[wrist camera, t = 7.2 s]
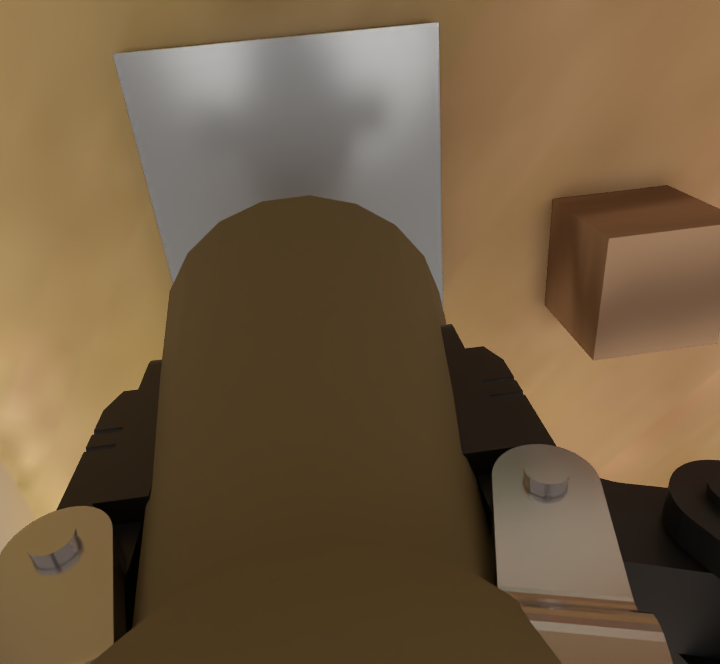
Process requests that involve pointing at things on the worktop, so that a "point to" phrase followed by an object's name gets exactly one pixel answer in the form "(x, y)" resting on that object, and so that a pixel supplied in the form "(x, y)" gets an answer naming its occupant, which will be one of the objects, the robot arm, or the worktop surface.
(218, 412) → the brown rounded figure
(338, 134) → the slate tile
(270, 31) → the worktop surface
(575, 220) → the walnut block
